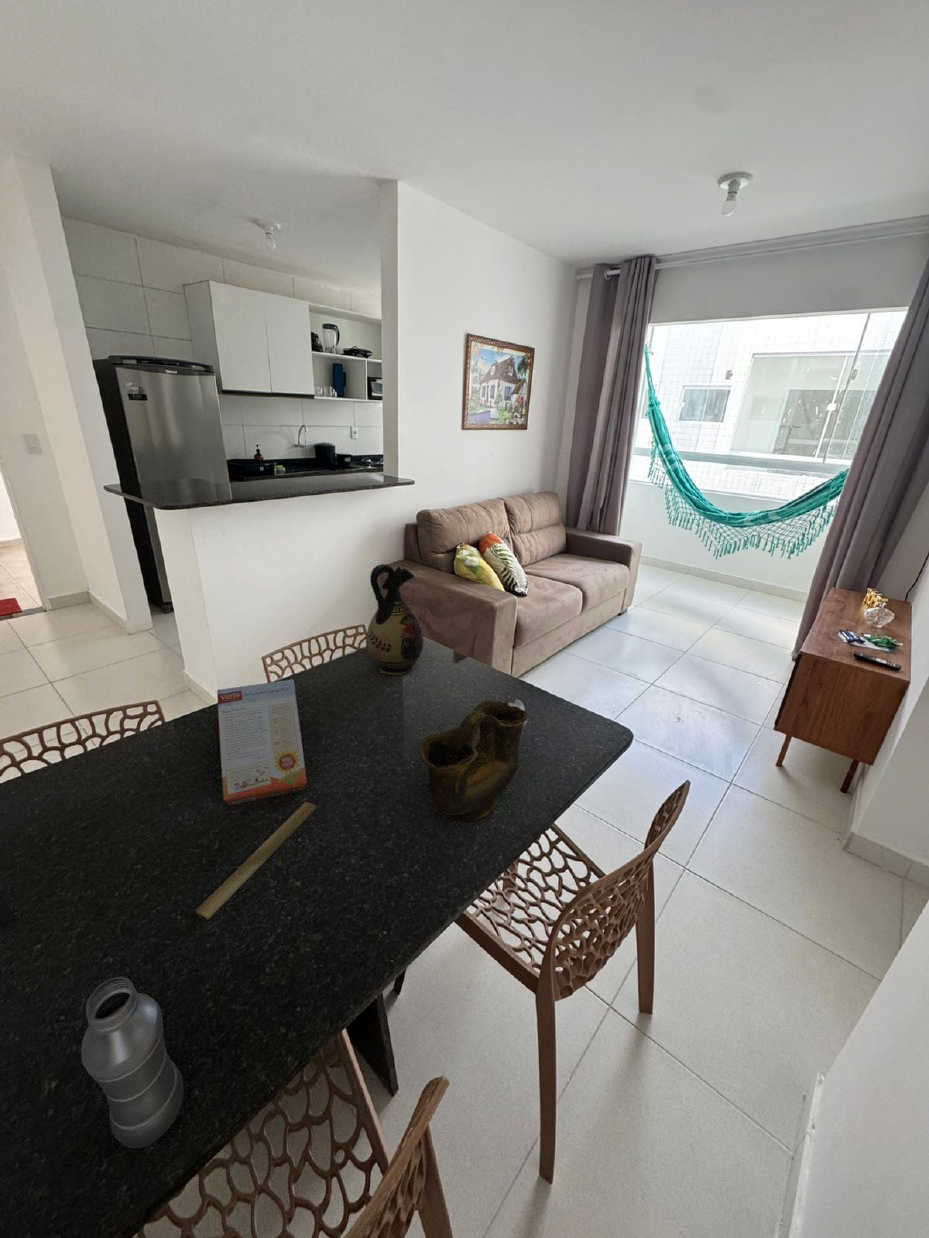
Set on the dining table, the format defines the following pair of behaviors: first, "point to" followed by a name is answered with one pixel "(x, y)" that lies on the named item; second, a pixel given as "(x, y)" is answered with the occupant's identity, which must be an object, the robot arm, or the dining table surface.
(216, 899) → the strip
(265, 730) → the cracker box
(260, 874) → the dining table surface
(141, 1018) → the plastic bottle
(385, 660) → the ceramic jug
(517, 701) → the elephant figurine
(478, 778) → the pottery vessel
